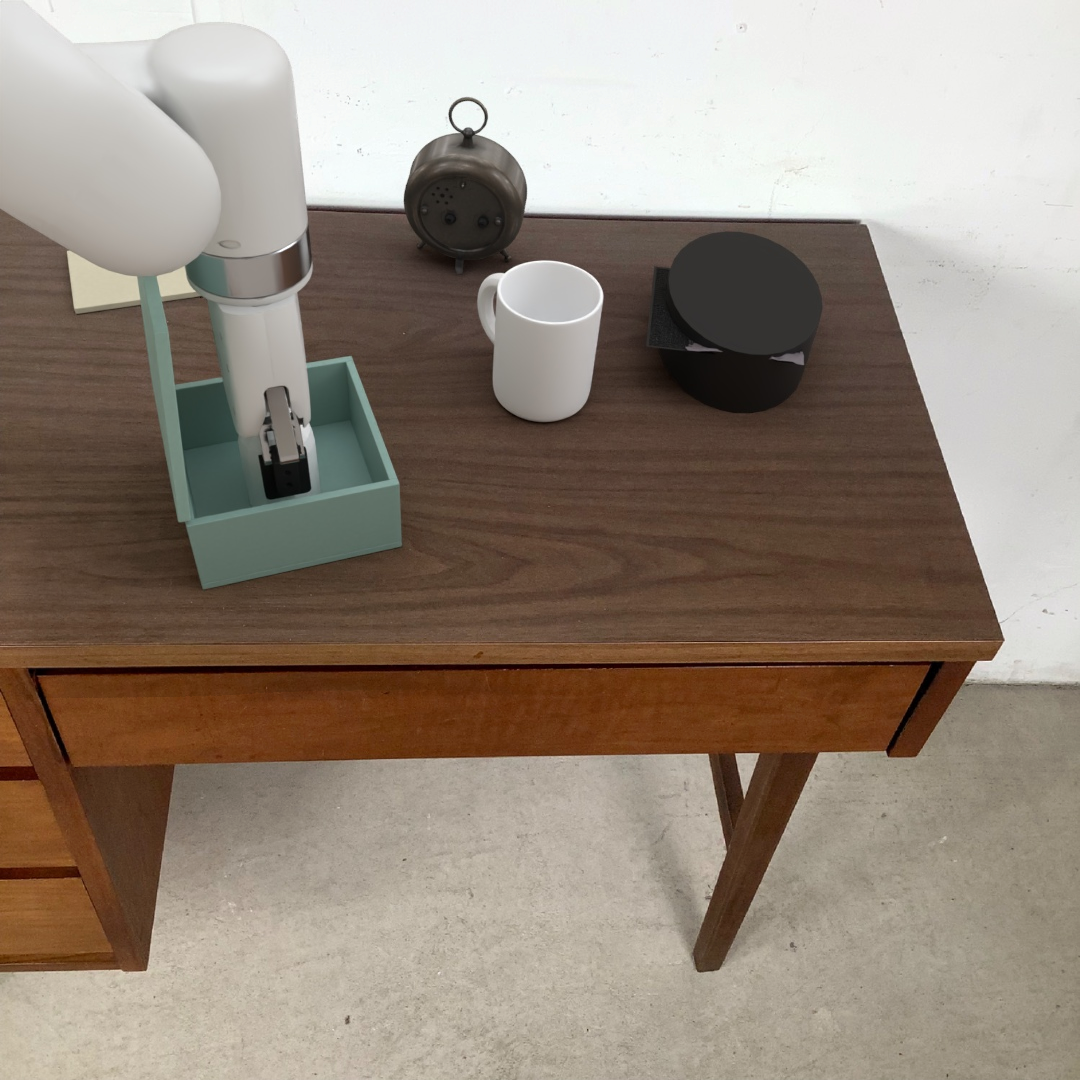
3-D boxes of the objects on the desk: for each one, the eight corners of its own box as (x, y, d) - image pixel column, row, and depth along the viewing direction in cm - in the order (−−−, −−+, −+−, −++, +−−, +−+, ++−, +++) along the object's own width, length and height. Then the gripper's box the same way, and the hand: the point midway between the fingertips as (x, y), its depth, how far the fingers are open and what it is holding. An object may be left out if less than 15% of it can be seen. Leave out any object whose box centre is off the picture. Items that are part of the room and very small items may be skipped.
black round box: (800, 308, 102) (818, 238, 97) (809, 423, 90) (831, 349, 84) (649, 291, 103) (659, 221, 98) (638, 403, 91) (648, 329, 85)
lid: (139, 193, 66) (125, 194, 66) (168, 331, 58) (153, 332, 58) (163, 381, 77) (151, 382, 77) (191, 521, 69) (178, 523, 68)
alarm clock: (523, 252, 104) (535, 90, 91) (517, 285, 100) (528, 120, 88) (411, 239, 104) (408, 75, 91) (401, 271, 100) (396, 105, 88)
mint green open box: (356, 419, 86) (351, 355, 81) (402, 546, 78) (399, 483, 73) (175, 452, 82) (158, 387, 77) (202, 590, 74) (186, 526, 69)
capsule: (321, 466, 82) (312, 386, 76) (320, 517, 78) (310, 438, 72) (250, 468, 81) (235, 388, 75) (245, 520, 78) (229, 440, 72)
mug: (443, 365, 92) (443, 262, 84) (513, 328, 96) (520, 227, 88) (539, 440, 86) (548, 338, 79) (609, 397, 90) (625, 296, 83)
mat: (75, 314, 92) (73, 308, 92) (68, 256, 98) (66, 250, 97) (305, 281, 98) (305, 275, 98) (286, 228, 103) (285, 222, 103)
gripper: (164, 182, 68) (209, 397, 82) (204, 346, 58) (248, 562, 71) (282, 168, 70) (307, 381, 84) (341, 325, 60) (359, 538, 73)
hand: (280, 462), depth 77 cm, fingers closed on capsule, 5 cm apart
